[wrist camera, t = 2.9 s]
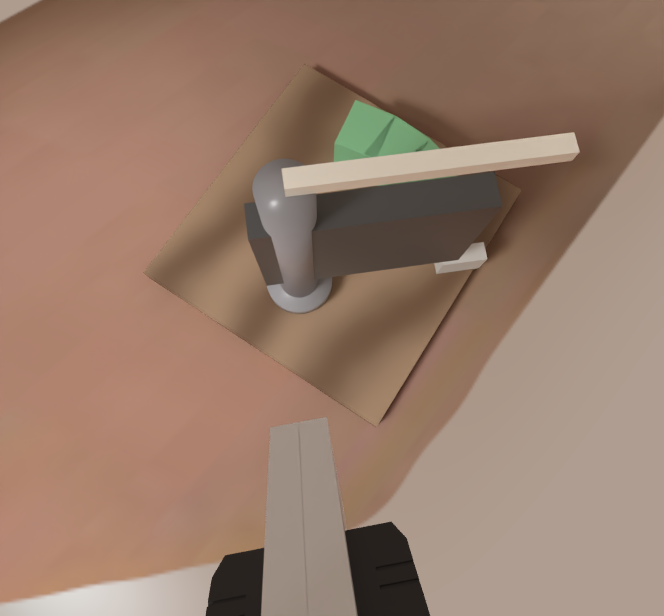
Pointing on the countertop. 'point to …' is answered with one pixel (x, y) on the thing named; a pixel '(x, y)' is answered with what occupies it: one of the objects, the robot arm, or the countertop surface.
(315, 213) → the signpost stand
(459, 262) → the gauge marks
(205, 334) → the countertop surface
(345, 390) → the brown square base board
